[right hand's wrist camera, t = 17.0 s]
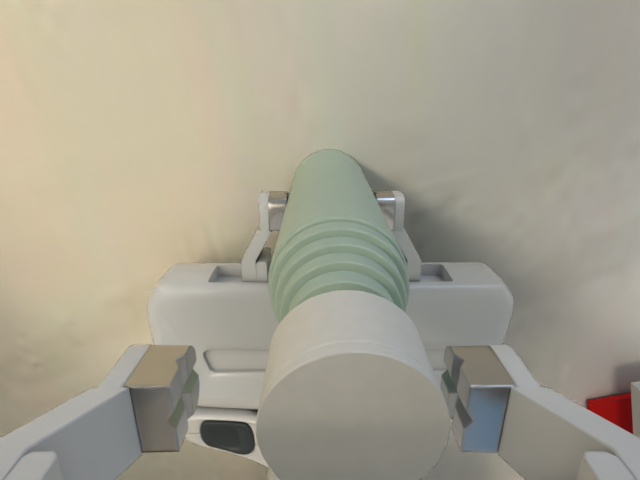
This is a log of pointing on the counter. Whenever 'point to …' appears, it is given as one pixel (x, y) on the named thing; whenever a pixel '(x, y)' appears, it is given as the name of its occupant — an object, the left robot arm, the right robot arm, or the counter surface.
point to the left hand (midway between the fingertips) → (330, 193)
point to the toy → (620, 409)
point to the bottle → (334, 238)
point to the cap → (350, 394)
